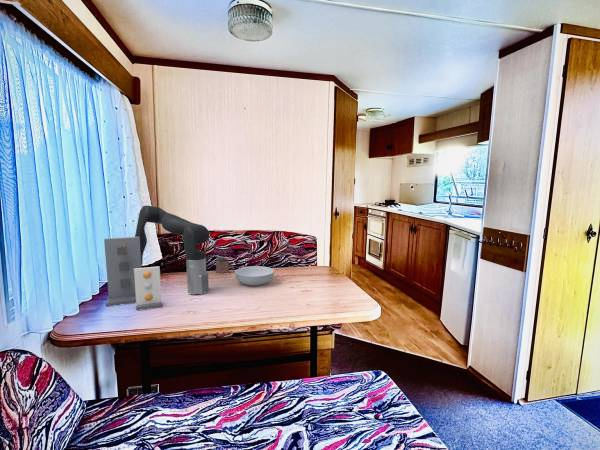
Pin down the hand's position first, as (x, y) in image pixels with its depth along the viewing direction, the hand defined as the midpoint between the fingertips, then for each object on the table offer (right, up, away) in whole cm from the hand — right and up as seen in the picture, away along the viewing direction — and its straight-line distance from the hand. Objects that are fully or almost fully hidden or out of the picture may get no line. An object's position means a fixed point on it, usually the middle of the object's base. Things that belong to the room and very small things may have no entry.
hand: (127, 278), depth 157 cm
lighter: (+38, -3, +37) cm, 53 cm away
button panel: (+3, -9, -5) cm, 11 cm away
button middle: (+2, +6, -5) cm, 8 cm away
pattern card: (+17, -10, -14) cm, 25 cm away
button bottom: (+2, -2, -4) cm, 5 cm away
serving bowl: (+59, -6, +19) cm, 62 cm away
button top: (+3, +13, -9) cm, 16 cm away
